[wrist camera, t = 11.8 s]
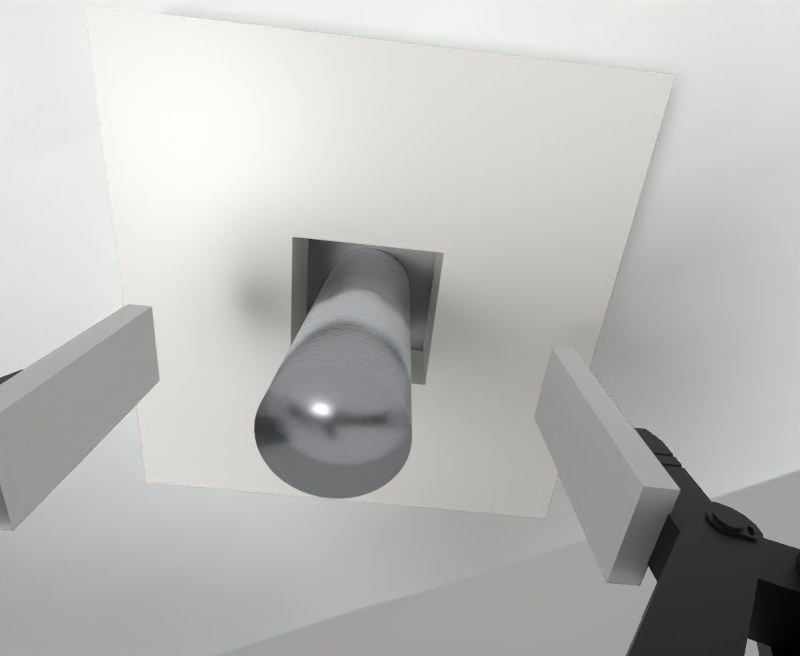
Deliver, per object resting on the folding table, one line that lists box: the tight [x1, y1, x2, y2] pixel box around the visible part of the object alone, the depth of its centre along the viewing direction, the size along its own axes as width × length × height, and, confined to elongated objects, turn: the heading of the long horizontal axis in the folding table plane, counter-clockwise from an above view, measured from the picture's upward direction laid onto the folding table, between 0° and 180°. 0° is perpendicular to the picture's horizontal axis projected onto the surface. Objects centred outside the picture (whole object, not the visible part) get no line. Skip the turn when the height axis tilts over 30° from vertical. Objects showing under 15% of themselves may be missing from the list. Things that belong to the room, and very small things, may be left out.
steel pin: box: [254, 249, 412, 499], centre depth 18 cm, size 4×4×12 cm
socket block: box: [84, 5, 675, 519], centre depth 21 cm, size 20×20×4 cm
